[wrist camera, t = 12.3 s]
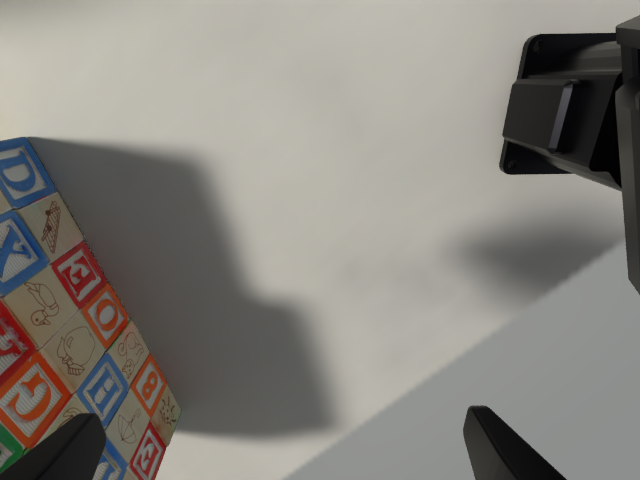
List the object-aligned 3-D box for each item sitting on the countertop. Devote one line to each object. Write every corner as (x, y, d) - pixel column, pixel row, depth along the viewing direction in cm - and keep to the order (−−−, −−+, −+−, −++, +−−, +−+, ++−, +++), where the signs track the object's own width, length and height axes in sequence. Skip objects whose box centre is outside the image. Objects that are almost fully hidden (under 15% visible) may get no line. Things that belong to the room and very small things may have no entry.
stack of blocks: (-77, 160, 19) (-655, 282, 8) (29, 133, 18) (-423, 222, 7) (110, 424, 28) (-29, 659, 16) (185, 411, 27) (94, 645, 16)
